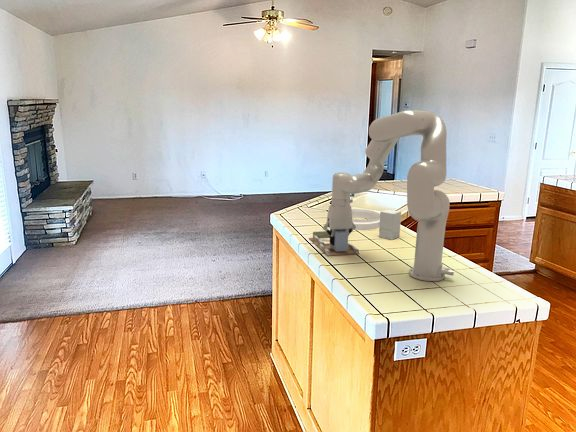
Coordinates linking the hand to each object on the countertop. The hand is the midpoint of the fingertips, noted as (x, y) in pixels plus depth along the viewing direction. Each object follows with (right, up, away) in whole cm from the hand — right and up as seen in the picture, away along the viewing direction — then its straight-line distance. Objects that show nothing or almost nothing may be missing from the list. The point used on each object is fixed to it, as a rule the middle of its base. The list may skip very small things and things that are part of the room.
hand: (338, 244), depth 193 cm
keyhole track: (-2, -1, +7) cm, 8 cm away
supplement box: (+27, +2, +23) cm, 35 cm away
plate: (+15, +8, +48) cm, 51 cm away
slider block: (0, -2, 0) cm, 2 cm away
